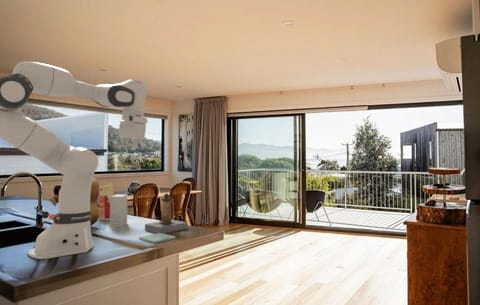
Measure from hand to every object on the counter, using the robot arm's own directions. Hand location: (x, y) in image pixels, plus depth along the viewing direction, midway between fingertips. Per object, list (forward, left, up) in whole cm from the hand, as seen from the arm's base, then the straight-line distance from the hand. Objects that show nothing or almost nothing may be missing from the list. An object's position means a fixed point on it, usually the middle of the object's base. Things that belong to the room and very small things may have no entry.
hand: (129, 148), depth 153 cm
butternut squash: (-4, +33, -39) cm, 52 cm away
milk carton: (+16, +48, -39) cm, 64 cm away
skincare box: (+10, +25, -39) cm, 48 cm away
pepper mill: (+20, -1, -39) cm, 44 cm away
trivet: (+6, -13, -39) cm, 41 cm away
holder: (+20, -1, -39) cm, 44 cm away
